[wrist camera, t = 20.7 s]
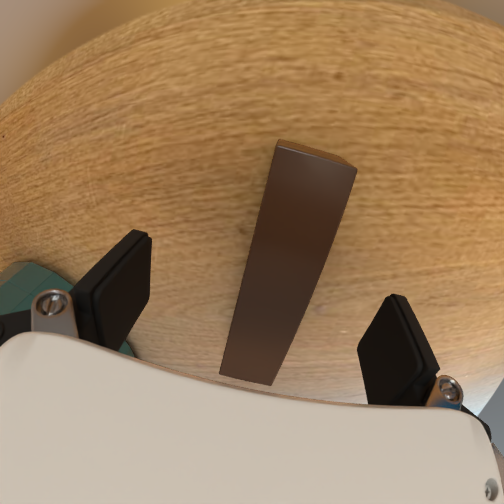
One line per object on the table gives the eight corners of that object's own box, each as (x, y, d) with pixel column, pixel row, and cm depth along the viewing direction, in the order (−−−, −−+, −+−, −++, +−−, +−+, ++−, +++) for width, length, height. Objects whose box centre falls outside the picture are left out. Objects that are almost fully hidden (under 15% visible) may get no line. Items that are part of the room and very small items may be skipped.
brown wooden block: (278, 138, 12) (276, 144, 9) (340, 156, 12) (358, 169, 9) (229, 333, 18) (218, 374, 15) (274, 344, 18) (271, 386, 15)
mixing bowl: (-9, 237, 17) (-57, 270, 12) (142, 297, 17) (94, 369, 12) (29, 360, 25) (4, 395, 19) (149, 419, 25) (130, 467, 19)
